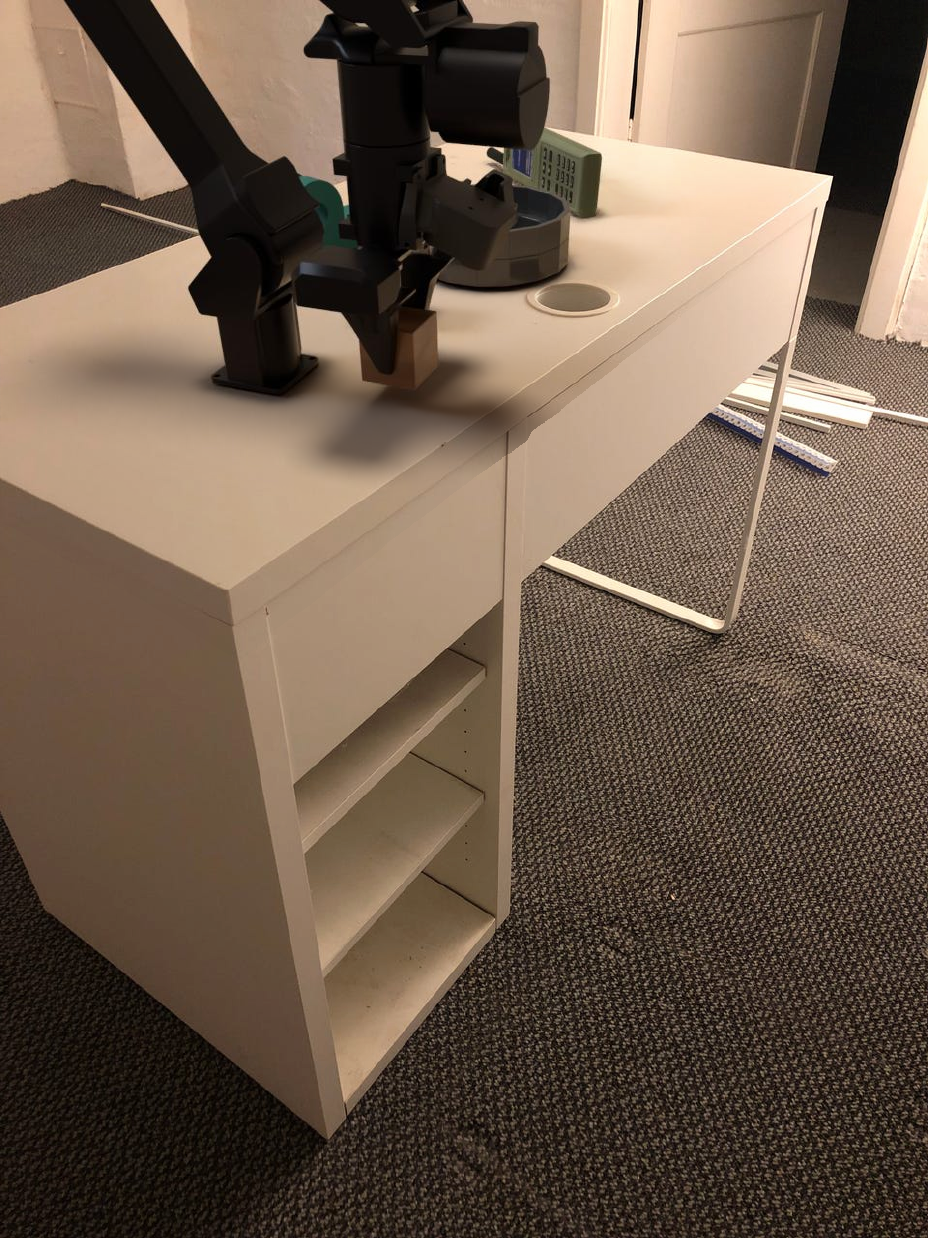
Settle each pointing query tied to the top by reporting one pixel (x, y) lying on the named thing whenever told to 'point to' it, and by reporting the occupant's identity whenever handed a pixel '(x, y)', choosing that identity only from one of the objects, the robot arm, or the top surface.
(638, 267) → the top surface
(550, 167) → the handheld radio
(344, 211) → the bracket
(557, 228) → the faceted round tray
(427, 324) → the walnut block
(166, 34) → the robot arm
